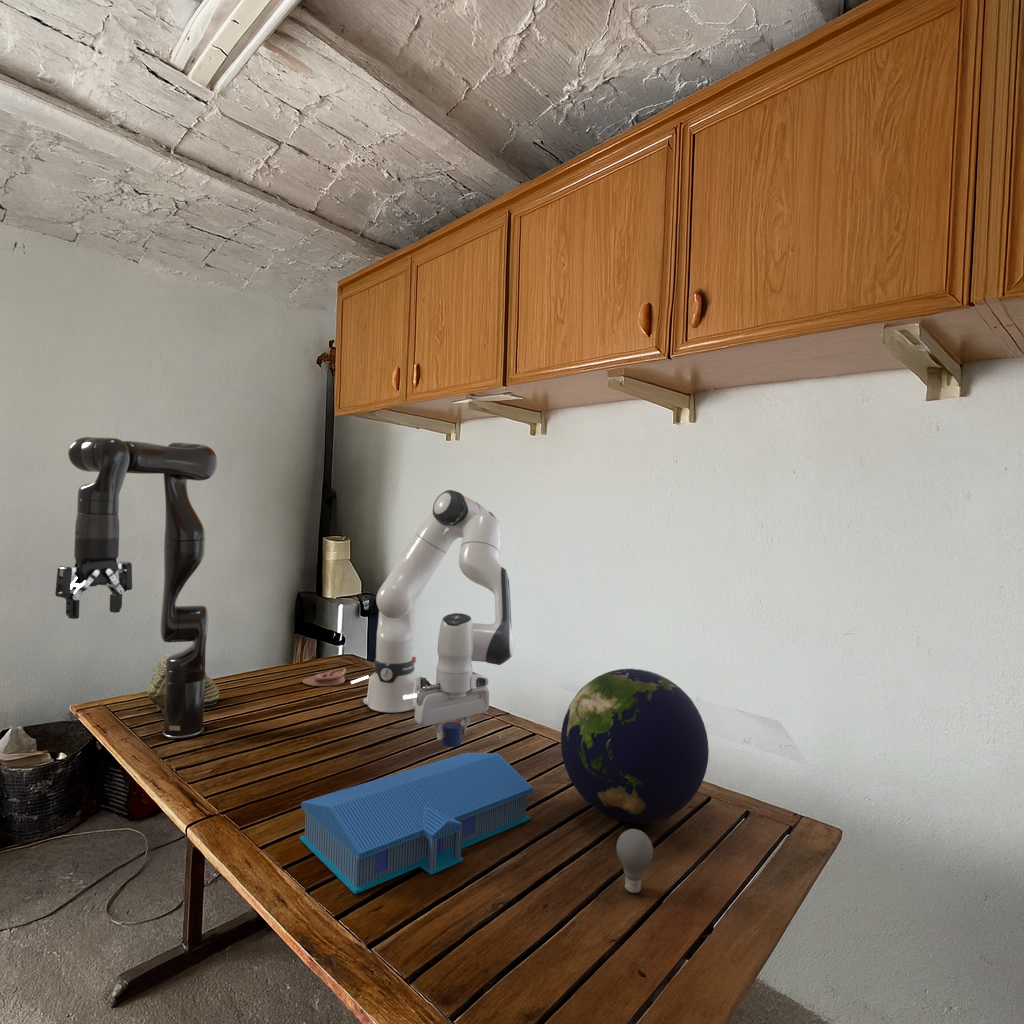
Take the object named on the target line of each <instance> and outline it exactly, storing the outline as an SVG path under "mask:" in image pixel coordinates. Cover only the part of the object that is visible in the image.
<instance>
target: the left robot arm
mask: <svg viewBox="0 0 1024 1024" xmlns="http://www.w3.org/2000/svg"><path fill="white" fill-rule="evenodd" d="M215 452H216V451H214V450H213V449H212V448H211V447H210V446H208V445H206V444H200V443H191V442H179V441H178V442H177V441H176V442H171V443H169V444H168V445H162V444H156V443H150V442H144V441H143V442H142V441H135V440H122V439H119V438H118V437H117V438H116V437H99V436H98V437H96V436H94V437H93V436H84V437H80V438H77V439H76V440H74V441H73V442H72V443H71V444H70V446H69V448H68V451H67V455H68V459H69V461H70V463H71V464H72V465H73V466H74V467H75V468H76V469H78V470H80V471H82V472H89V473H90V472H91V473H98V475H97V477H96V480H95V481H94V482H91V483H86V484H82V485H81V486H80V487H78V490H77V501H76V502H77V505H76V506H77V507H76V518H75V523H74V524H75V525H74V549H73V551H74V553H73V555H74V556H73V557H74V560H75V564H74V566H64V565H60V566H58V567H57V569H56V570H57V572H56V582H55V593H54V595H55V596H56V597H57V598H62V599H65V615H66V616H67V617H68V619H72V620H77V619H79V618H80V599H79V598H80V597H81V595H82V594H83V593H84V592H85V591H87V590H88V589H89V587H97V586H105V587H107V589H108V590H109V591H110V594H109V612H110V613H114V614H115V613H120V611H121V610H122V607H123V594H124V593H125V592H127V591H131V590H132V589H133V564H132V563H131V562H130V561H129V562H128V561H119V562H117V559H118V558H119V553H120V552H119V551H120V550H119V549H120V520H119V519H120V518H119V507H120V506H119V505H120V502H119V500H120V493H121V489H122V488H123V487H122V486H123V485H124V481H125V478H126V475H127V474H137V475H148V474H149V475H154V474H155V475H158V474H159V475H161V474H163V485H164V486H163V487H164V498H165V500H164V501H165V503H164V504H165V517H164V518H165V520H164V521H165V524H164V538H163V564H164V565H163V574H164V575H163V576H164V577H163V591H162V602H161V603H162V604H161V615H160V637H161V640H162V641H163V642H164V643H189V642H190V643H191V642H192V644H190V646H188V647H187V648H186V649H185V648H184V649H183V650H181V651H179V652H176V653H174V654H170V655H171V656H169V657H168V658H167V660H166V674H165V705H164V708H163V709H162V711H161V714H162V716H163V731H162V737H164V738H166V739H169V740H185V739H190V738H191V739H192V738H194V737H197V736H199V735H202V734H203V732H204V730H205V729H204V722H205V721H204V718H205V706H204V693H205V672H206V664H207V663H206V656H207V655H206V654H207V653H206V652H207V649H206V648H207V637H208V636H207V635H208V627H209V611H208V609H207V607H206V606H205V605H176V603H177V601H178V598H179V595H180V594H181V592H182V590H183V588H184V586H185V585H186V583H187V582H188V581H189V579H190V578H191V577H192V576H193V574H194V572H195V571H196V570H197V569H198V568H199V566H200V565H201V563H202V562H203V560H204V557H205V549H206V546H205V545H206V531H205V528H204V525H203V523H202V521H201V519H200V518H199V516H198V514H197V512H196V510H195V509H194V507H193V505H192V504H191V501H190V497H189V493H188V480H189V481H206V480H209V479H210V478H211V477H213V476H214V475H215V473H216V470H217V467H218V458H217V454H216V453H215ZM117 572H118V577H117V576H116V575H115V574H116V573H117ZM74 576H76V577H75V578H74V580H73V581H72V578H73V577H74Z"/></svg>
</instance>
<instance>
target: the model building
mask: <svg viewBox="0 0 1024 1024" xmlns="http://www.w3.org/2000/svg"><path fill="white" fill-rule="evenodd" d="M533 793H534V787H533V786H532V785H531V784H530V783H529V782H528V781H527V780H526V779H525V778H524V777H523V776H522V775H521V774H520V773H519V772H518V771H517V770H516V769H515V768H514V767H513V766H512V765H511V764H510V763H509V762H508V761H507V760H506V759H505V758H504V757H503V756H502V755H501V754H500V753H497V752H464V753H460V754H457V755H454V756H451V757H447V758H444V759H441V760H438V761H434V762H431V763H427V764H424V765H421V766H418V767H414V768H411V769H407V770H404V771H401V772H398V773H394V774H390V775H388V776H384V777H381V778H377V779H374V780H371V781H368V782H367V781H366V782H364V783H360V784H358V785H354V786H351V787H347V788H344V789H341V790H337V791H334V792H330V793H327V794H324V795H321V796H318V797H317V796H316V797H314V798H310V799H308V800H303V801H301V803H300V805H301V806H300V808H301V809H302V810H303V811H304V812H305V815H304V816H305V817H304V821H305V822H304V834H303V835H300V836H299V840H300V841H301V842H302V843H303V844H304V845H305V846H306V847H307V848H308V849H309V850H310V852H312V853H313V854H314V855H315V856H316V857H317V858H318V859H319V860H320V861H321V862H322V863H323V864H324V865H325V866H326V867H327V868H328V869H329V870H330V871H331V872H332V873H333V874H334V875H335V876H336V877H337V878H338V879H339V880H340V881H341V883H343V884H344V886H346V887H347V889H349V890H350V891H351V892H352V893H353V895H357V894H359V893H363V892H364V891H366V890H370V889H371V888H373V887H376V886H378V885H381V884H383V883H385V882H388V881H390V880H392V879H394V878H397V877H400V876H402V875H404V874H406V873H409V872H411V871H413V870H416V869H418V868H421V869H422V870H424V872H426V873H427V874H428V875H429V876H433V875H434V874H437V873H440V872H441V871H444V870H445V869H448V868H450V867H452V866H455V865H457V864H459V863H461V862H464V857H462V849H465V848H467V847H470V846H472V845H474V844H476V843H479V842H482V841H484V840H486V839H488V838H490V837H493V836H496V835H497V834H500V833H502V832H506V831H508V830H510V829H512V828H515V827H516V826H519V825H521V824H524V823H526V822H528V821H530V820H531V817H530V816H528V815H527V801H528V795H531V794H533Z"/></svg>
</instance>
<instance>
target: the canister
mask: <svg viewBox="0 0 1024 1024" xmlns="http://www.w3.org/2000/svg"><path fill="white" fill-rule="evenodd" d="M441 729H442V731H444V732H446V736H445V737H446V739H443V740H441V745H442V746H444V747H446V748H456V747H459V746H461V745H462V735H461V729H462V725H461V722H457V721H447V722H443V726H442V727H441Z"/></svg>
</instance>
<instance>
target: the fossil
mask: <svg viewBox="0 0 1024 1024" xmlns="http://www.w3.org/2000/svg"><path fill="white" fill-rule="evenodd" d="M171 655H172V654H165V655H164V656H163V657H162V658H161V659H160V660H159V662H158V663H157V666H156V667H155V669H154V670H153V672H152V675H151V677H150V680H149V684H148V688H147V697H148V699H149V700H150V701H152V703H153V704H154V706H155V711H158V712H159V711H161V712H162V709H163V708H164V705H165V674H166V660H167V658H168V657H169V656H171ZM220 698H221V696H220V690H219V688H218V686H217V685H216V683H215V682H214V681H213V679H212V678H211V677H209V675H208V674H207V672H206V671H205V693H204V707H207V706H213V705H215V704H217V703H218V701H219V699H220Z"/></svg>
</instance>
